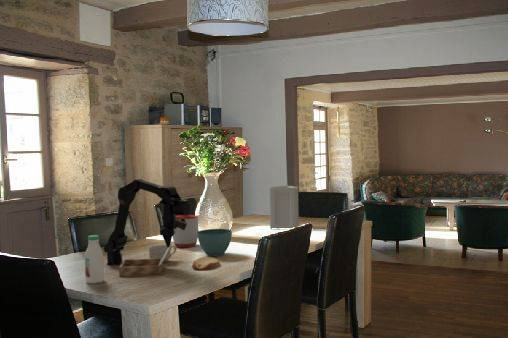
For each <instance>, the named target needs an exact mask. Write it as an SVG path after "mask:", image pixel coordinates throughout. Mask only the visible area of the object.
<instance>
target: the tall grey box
mask: <svg viewBox="0 0 508 338" xmlns="http://www.w3.org/2000/svg"><path fill="white" fill-rule="evenodd" d="M268 190H269V194H268V195H269V228H271V229H270V230H273V229H272V228H293V227H297V226H299V225H300V223H299V218H300V217H299V187H298V186H293V185H281V186H270V187H269V188H268Z"/></svg>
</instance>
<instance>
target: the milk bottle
mask: <svg viewBox="0 0 508 338" xmlns="http://www.w3.org/2000/svg"><path fill="white" fill-rule="evenodd" d="M87 240H88V245H87V248H86V250H85V254H84V265H85V267H84V270H85V271H84V272H85V282H86V283H87V284H100V283H103V282H105V262H104V251H103V250H102V249H103V248H102V247H101V246H100V242H99V241H100V236H99V234H98V235H97V234H93V235H91V234H90V235H88V236H87Z"/></svg>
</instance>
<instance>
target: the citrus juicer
mask: <svg viewBox="0 0 508 338" xmlns="http://www.w3.org/2000/svg"><path fill="white" fill-rule="evenodd" d="M175 216H176V219H178V220H181V219H182V218H183V219H185V222H187V225H186V228H185V230H182V229H180V228H177V229H174V231H176V232H175V234H174V235H173V236H172V239H173V241H172V242H173V243H174V246H176V248H186V249H187V248H189V249H190V248H192V247H195V246H197V243H198V236H197V232H198V231H199V215H196V214H195V215H194V214H188V215H187V216H184V215H175Z"/></svg>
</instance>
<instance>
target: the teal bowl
mask: <svg viewBox="0 0 508 338" xmlns="http://www.w3.org/2000/svg"><path fill="white" fill-rule="evenodd" d="M197 236H198V239H197V241H198V243H199V246H200V247H201V250H203V252H204V253H205V254H206V255H207V257H221V256H223V255H224V254H225V252H226V251H227V249H228V248H229V246H230V244H231V240H232V236H233V230H231V229H226V228H210V229H202V230H198V232H197Z"/></svg>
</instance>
